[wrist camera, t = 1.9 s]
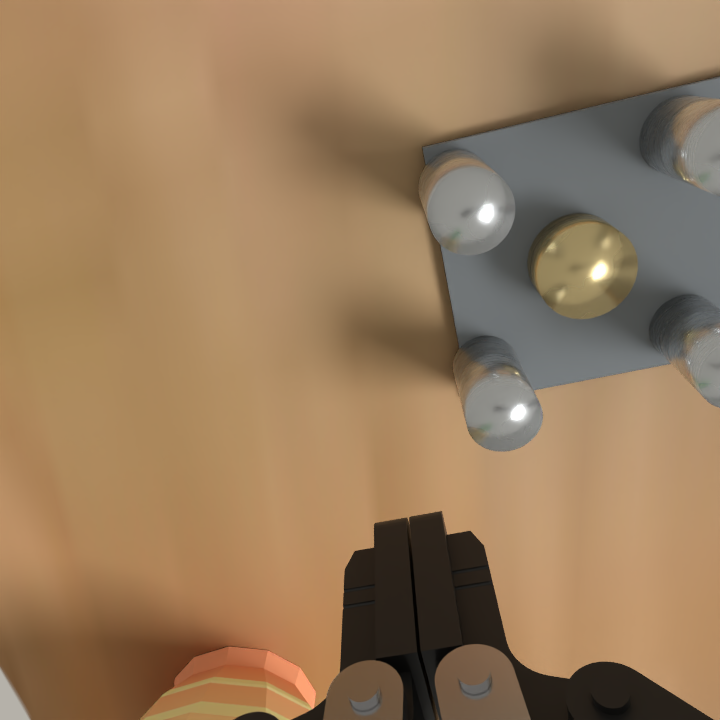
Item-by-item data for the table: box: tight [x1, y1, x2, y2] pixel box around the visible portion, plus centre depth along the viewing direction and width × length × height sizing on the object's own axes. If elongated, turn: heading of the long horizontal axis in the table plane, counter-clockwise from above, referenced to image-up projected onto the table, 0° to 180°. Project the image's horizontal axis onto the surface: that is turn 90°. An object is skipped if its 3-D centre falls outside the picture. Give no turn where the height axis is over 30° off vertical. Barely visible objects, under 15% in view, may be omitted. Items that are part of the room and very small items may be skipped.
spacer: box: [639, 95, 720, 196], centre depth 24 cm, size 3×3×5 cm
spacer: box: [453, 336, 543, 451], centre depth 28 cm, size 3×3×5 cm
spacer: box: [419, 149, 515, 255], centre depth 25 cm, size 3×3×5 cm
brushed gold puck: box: [527, 213, 638, 319], centre depth 27 cm, size 4×4×2 cm
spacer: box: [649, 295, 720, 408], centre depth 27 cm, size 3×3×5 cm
